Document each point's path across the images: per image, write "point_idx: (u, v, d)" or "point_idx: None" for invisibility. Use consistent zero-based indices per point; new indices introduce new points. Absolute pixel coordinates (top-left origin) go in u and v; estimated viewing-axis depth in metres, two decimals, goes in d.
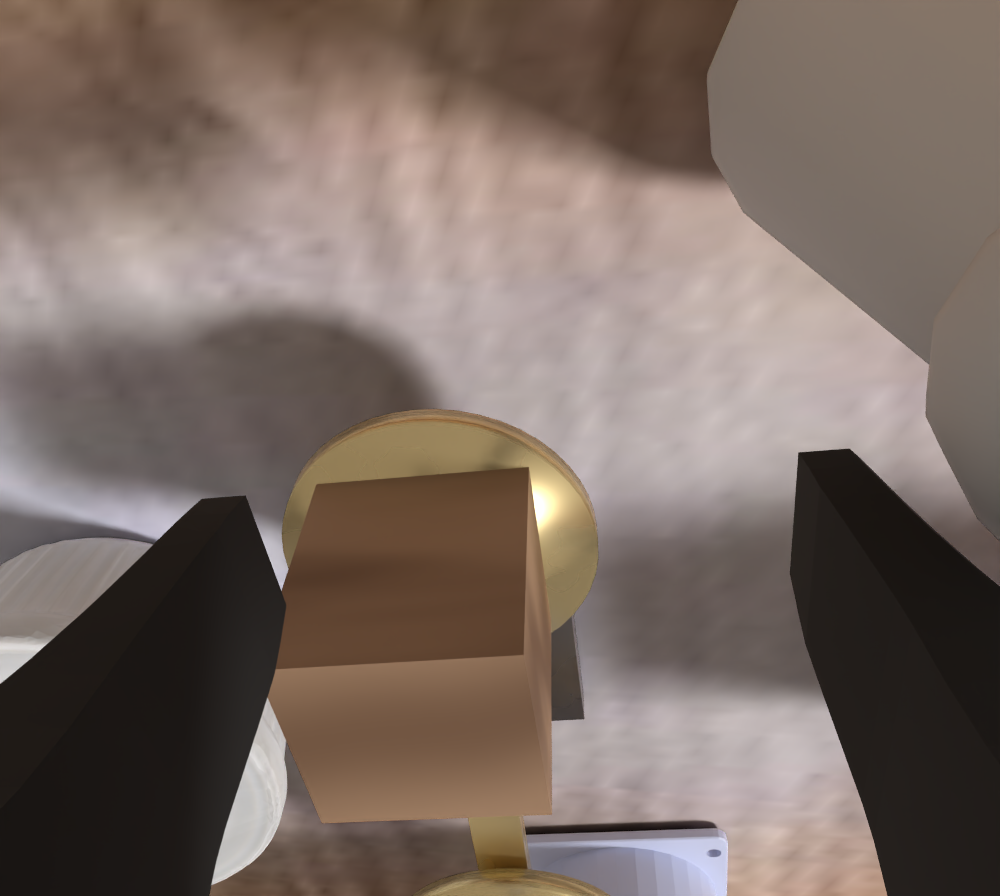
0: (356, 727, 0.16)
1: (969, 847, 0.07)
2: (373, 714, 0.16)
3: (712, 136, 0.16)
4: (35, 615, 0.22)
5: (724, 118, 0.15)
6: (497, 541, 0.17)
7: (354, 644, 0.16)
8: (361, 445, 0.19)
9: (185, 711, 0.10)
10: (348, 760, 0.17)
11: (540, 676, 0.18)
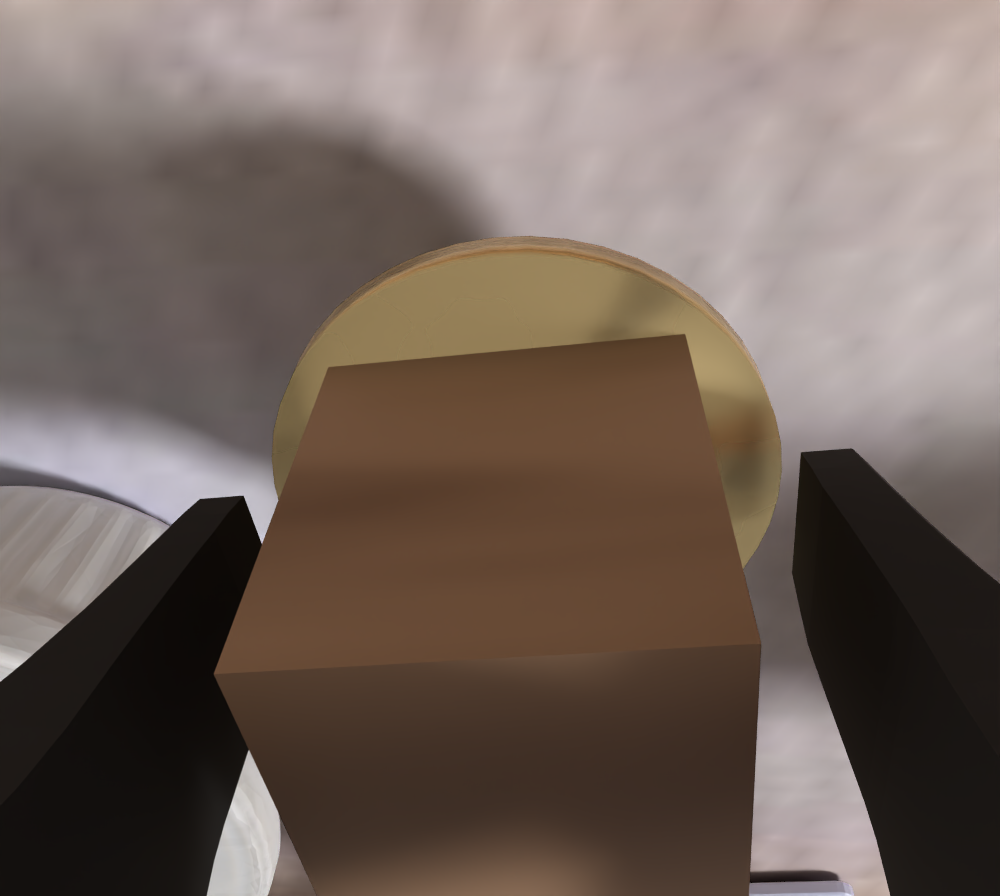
0: (407, 783, 0.09)
1: (973, 847, 0.07)
2: (442, 759, 0.08)
3: None
4: None
5: None
6: (656, 443, 0.10)
7: (409, 622, 0.08)
8: (405, 294, 0.11)
9: (183, 711, 0.10)
10: (389, 839, 0.09)
11: None
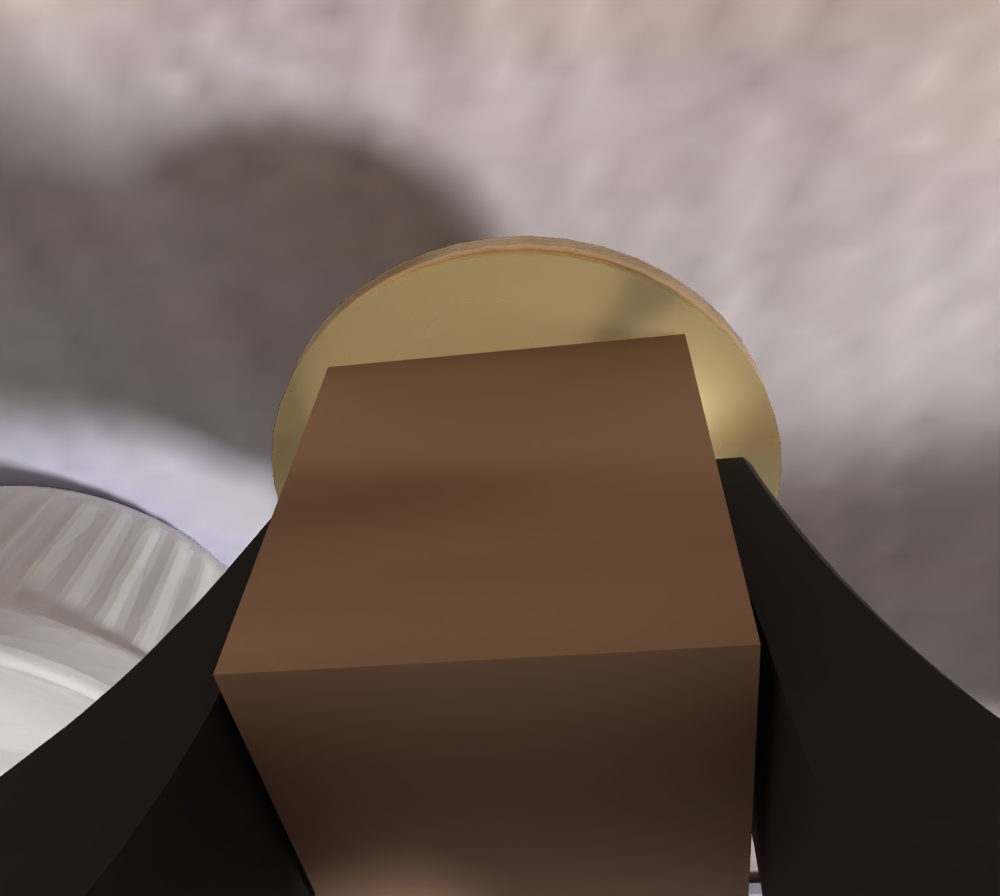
0: (405, 783, 0.09)
1: (800, 852, 0.07)
2: (442, 761, 0.08)
3: None
4: None
5: None
6: (655, 443, 0.10)
7: (409, 623, 0.08)
8: (404, 294, 0.11)
9: None
10: (388, 841, 0.09)
11: None
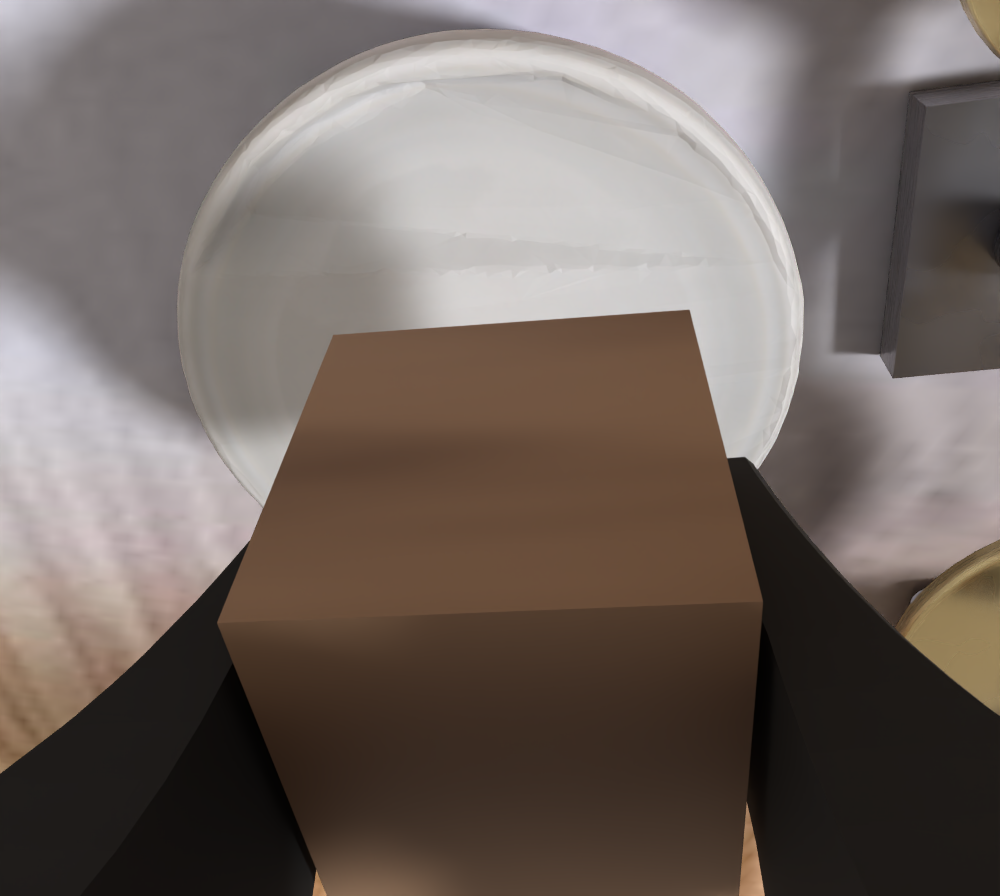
0: (406, 738, 0.09)
1: (804, 852, 0.07)
2: (441, 717, 0.08)
3: None
4: (497, 29, 0.14)
5: None
6: (660, 411, 0.10)
7: (413, 576, 0.08)
8: None
9: None
10: (385, 799, 0.09)
11: None
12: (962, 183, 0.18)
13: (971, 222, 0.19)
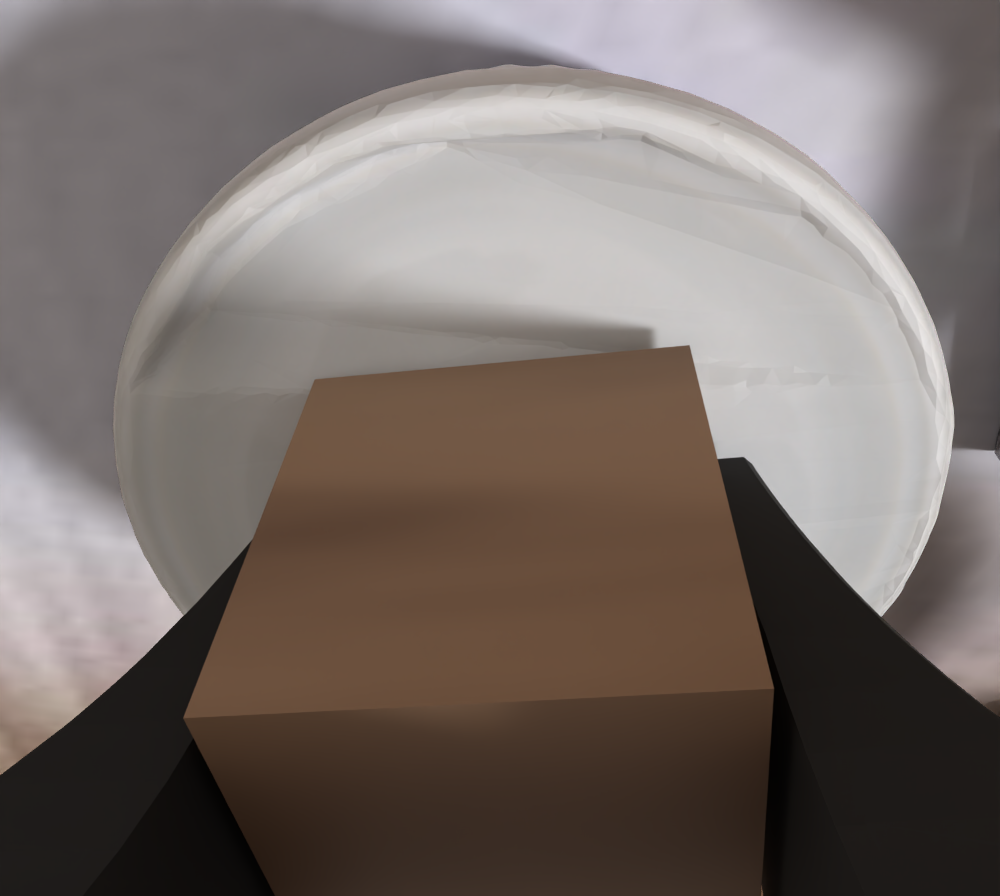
0: (392, 829, 0.08)
1: (802, 852, 0.07)
2: (431, 807, 0.08)
3: None
4: (549, 67, 0.10)
5: None
6: (659, 463, 0.09)
7: (394, 661, 0.07)
8: None
9: None
10: (374, 888, 0.09)
11: None
12: None
13: None
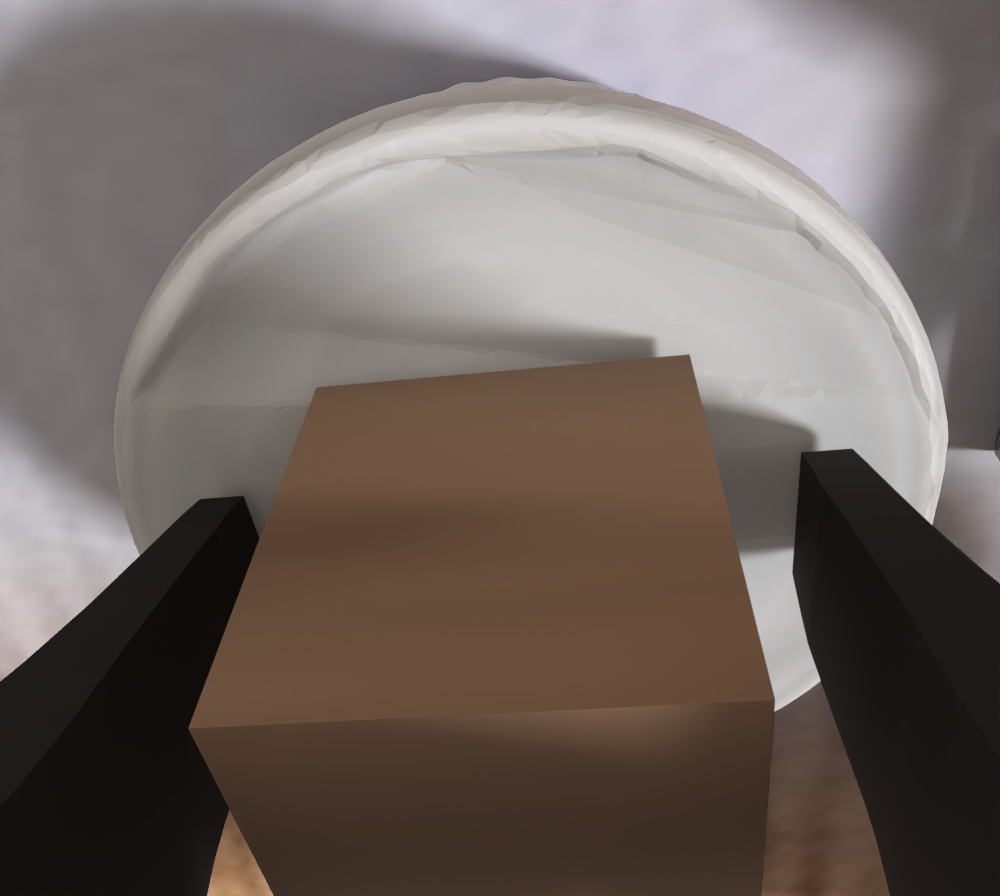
0: (395, 837, 0.08)
1: (973, 847, 0.07)
2: (433, 816, 0.08)
3: None
4: (547, 84, 0.10)
5: None
6: (660, 473, 0.09)
7: (398, 671, 0.07)
8: None
9: (182, 711, 0.10)
10: None
11: None
12: None
13: None
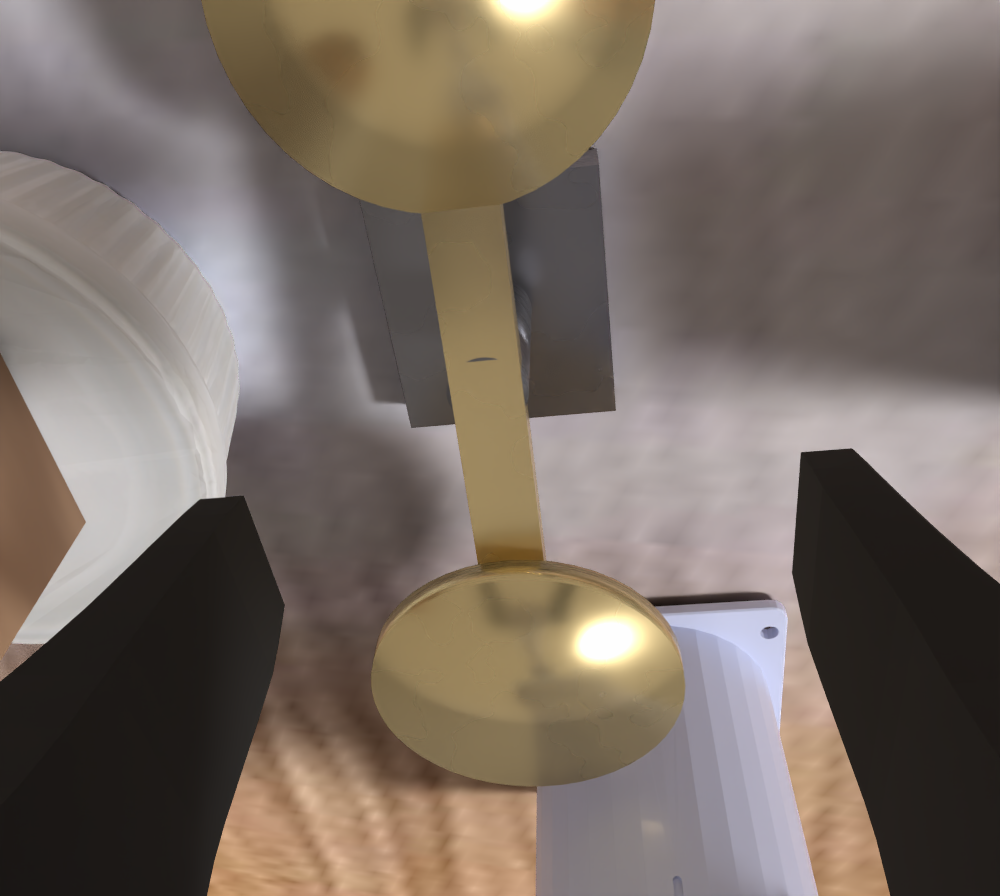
0: None
1: (973, 847, 0.07)
2: None
3: None
4: None
5: None
6: None
7: None
8: None
9: (182, 711, 0.10)
10: None
11: None
12: (413, 258, 0.20)
13: (433, 292, 0.21)
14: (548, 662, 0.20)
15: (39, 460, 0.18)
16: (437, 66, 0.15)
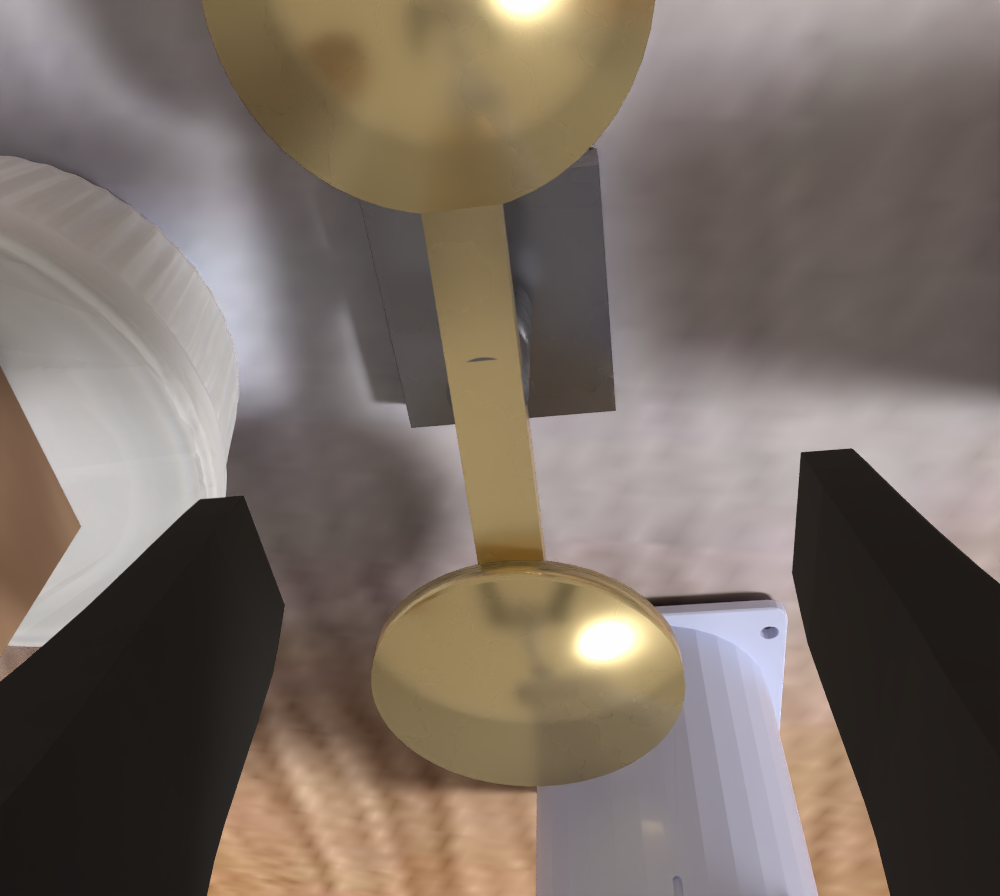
0: None
1: (973, 847, 0.07)
2: None
3: None
4: None
5: None
6: None
7: None
8: None
9: (182, 711, 0.10)
10: None
11: None
12: (413, 258, 0.20)
13: (433, 292, 0.21)
14: (548, 662, 0.20)
15: (35, 465, 0.18)
16: (437, 66, 0.15)
